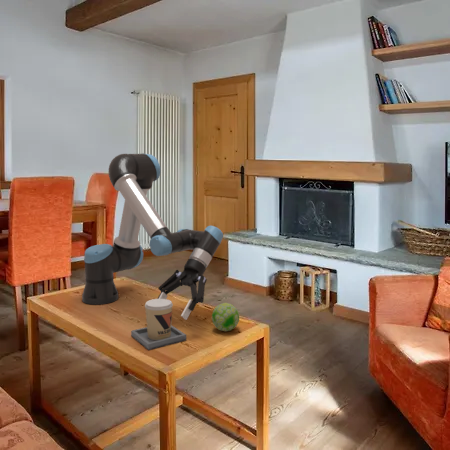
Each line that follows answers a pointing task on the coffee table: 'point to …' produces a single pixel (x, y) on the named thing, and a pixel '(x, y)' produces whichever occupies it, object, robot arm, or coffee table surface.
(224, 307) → the decorative ball
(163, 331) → the coffee cup
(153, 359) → the coffee table surface
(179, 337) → the tray
